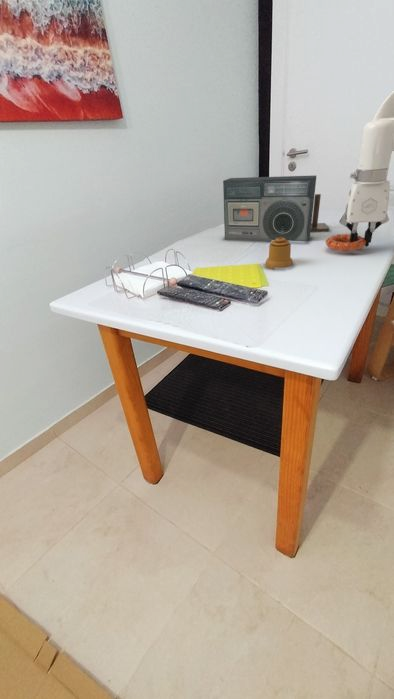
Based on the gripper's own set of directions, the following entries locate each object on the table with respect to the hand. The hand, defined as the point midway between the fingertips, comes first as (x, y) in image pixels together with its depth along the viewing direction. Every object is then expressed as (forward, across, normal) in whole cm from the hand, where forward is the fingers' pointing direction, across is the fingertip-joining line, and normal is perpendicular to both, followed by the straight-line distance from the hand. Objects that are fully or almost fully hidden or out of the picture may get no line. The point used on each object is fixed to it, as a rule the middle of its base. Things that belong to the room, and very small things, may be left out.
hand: (359, 244), depth 99 cm
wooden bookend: (+3, -9, +31) cm, 32 cm away
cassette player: (+3, -27, +19) cm, 33 cm away
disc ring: (-1, -4, 0) cm, 4 cm away
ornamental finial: (+2, -24, -10) cm, 26 cm away
